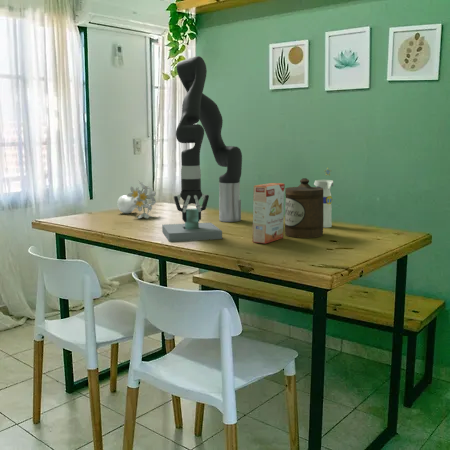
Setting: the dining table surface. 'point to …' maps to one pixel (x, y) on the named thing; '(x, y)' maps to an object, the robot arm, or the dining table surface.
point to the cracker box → (268, 212)
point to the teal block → (192, 219)
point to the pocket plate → (191, 232)
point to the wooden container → (304, 211)
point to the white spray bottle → (326, 199)
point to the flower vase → (137, 200)
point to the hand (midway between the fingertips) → (191, 221)
